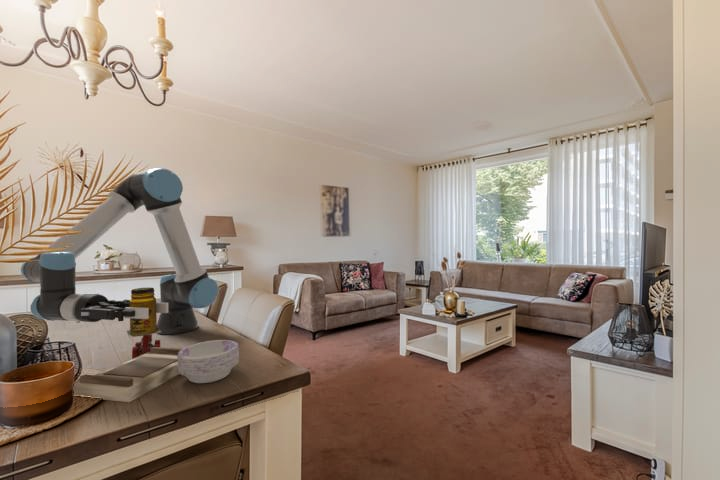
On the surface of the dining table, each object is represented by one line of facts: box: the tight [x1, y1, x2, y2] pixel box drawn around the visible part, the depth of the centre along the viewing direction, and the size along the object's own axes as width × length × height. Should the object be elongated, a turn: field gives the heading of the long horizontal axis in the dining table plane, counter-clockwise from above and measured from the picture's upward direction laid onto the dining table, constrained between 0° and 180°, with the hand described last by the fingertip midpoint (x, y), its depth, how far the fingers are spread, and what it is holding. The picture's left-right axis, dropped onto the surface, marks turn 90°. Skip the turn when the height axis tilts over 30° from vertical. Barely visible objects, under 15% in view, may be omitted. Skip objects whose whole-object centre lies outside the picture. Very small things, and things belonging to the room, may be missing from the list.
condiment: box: [126, 287, 161, 338], centre depth 91 cm, size 7×8×12 cm
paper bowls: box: [177, 339, 240, 384], centre depth 91 cm, size 15×15×8 cm
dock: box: [73, 346, 183, 403], centre depth 91 cm, size 24×16×4 cm, turn 169°
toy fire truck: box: [131, 334, 161, 359], centre depth 108 cm, size 7×12×10 cm, turn 26°
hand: (157, 310), depth 89 cm, fingers closed on condiment, 6 cm apart
